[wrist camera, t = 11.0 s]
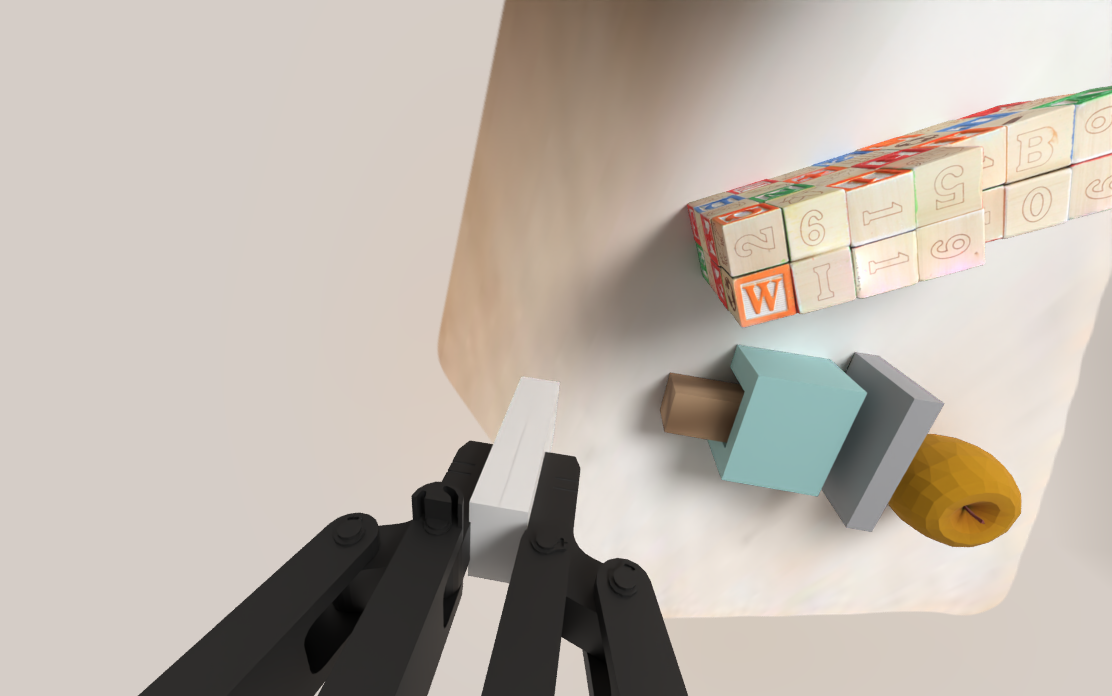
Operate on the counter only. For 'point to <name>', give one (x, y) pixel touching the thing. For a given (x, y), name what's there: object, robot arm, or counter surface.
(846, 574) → the counter surface
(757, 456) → the block
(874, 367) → the wall
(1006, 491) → the apple
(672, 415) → the brown wooden bar
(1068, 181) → the stack of blocks
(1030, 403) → the counter surface
